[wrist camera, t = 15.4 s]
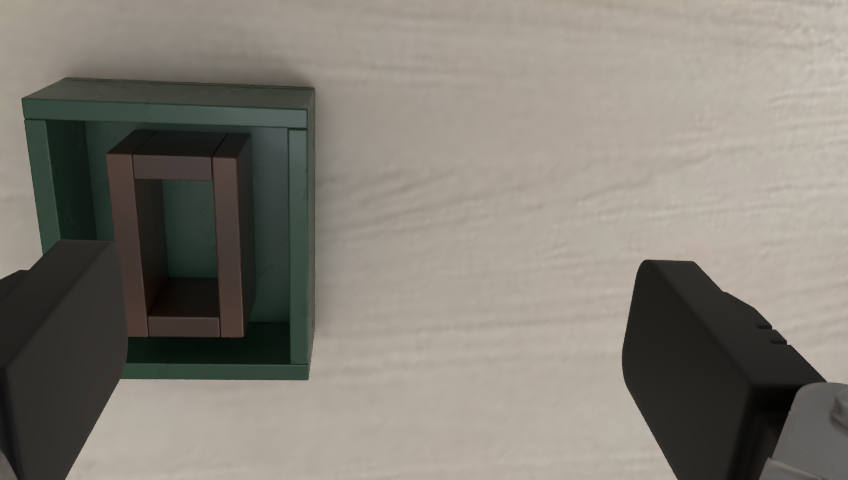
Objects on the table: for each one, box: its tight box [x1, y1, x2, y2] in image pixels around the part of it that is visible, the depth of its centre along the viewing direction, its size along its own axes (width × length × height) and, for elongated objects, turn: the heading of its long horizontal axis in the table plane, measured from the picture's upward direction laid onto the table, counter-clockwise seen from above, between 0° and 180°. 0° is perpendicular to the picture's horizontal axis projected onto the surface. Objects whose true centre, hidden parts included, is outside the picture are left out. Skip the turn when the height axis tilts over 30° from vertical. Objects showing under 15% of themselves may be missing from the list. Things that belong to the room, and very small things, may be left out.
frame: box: [106, 130, 256, 337], centre depth 33 cm, size 8×5×4 cm, turn 177°
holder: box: [22, 77, 315, 380], centre depth 33 cm, size 12×11×5 cm
